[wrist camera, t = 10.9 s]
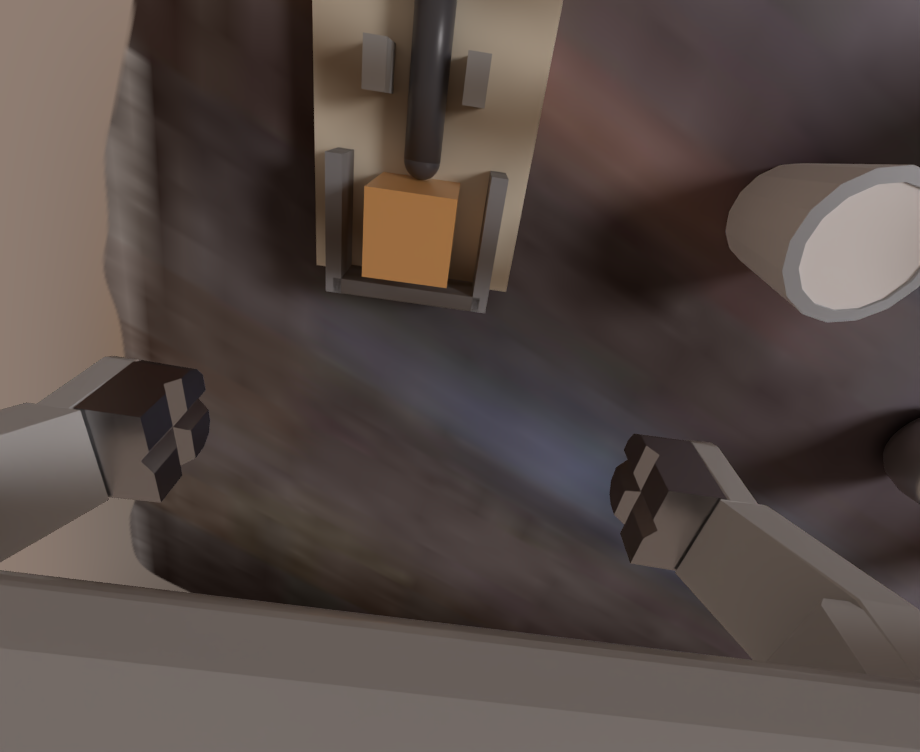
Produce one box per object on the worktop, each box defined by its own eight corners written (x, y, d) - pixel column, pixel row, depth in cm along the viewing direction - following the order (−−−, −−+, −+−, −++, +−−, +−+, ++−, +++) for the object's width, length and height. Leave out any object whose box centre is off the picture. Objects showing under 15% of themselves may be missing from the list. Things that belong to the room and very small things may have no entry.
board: (320, -212, 19) (284, -285, 15) (590, -161, 19) (615, -219, 16) (323, 265, 28) (303, 288, 25) (502, 290, 29) (506, 316, 25)
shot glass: (693, 207, 26) (759, 237, 20) (820, 119, 24) (938, 124, 18) (742, 298, 29) (813, 350, 23) (861, 227, 26) (975, 263, 20)
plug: (397, -117, 19) (375, -183, 14) (495, -100, 19) (502, -160, 15) (380, 248, 26) (361, 276, 22) (450, 258, 26) (446, 288, 22)
